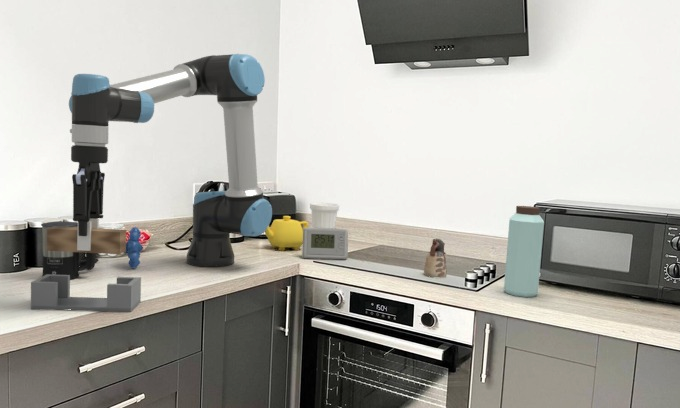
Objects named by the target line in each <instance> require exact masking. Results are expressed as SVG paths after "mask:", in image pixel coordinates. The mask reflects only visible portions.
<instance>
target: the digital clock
mask: <svg viewBox="0 0 680 408" xmlns="http://www.w3.org/2000/svg"><path fill="white" fill-rule="evenodd" d="M302 229H303V228H302ZM348 251H349V231H348V229H346V228H336V227H335V228H312V227H308V228H304V229H303V244H302V254H301V255H302V258H303V259H307V260H308V259H310V260H311V259H312V260H321V261H322V260H325V261H326V260H327V261H339V260H343V261H344V260H347V259H348V258H349V257H348V255H349V254H348V253H349V252H348Z"/></svg>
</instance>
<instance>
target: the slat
mask: <svg viewBox="0 0 680 408" xmlns="http://www.w3.org/2000/svg"><path fill="white" fill-rule="evenodd" d="M77 228H78V227H63V226H54V227H50V228H47V251H64V252H79V253H85V254H86V253H96V254H105V255H106V254H107V255H108V254H109V255H121V254H124V253H123V252H125V251H126V243H127V229H119V228H118V229H117V228H102V227H101V228H100V227H99V228H91V250H90V251H83V250H77Z"/></svg>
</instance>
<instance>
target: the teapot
mask: <svg viewBox="0 0 680 408" xmlns="http://www.w3.org/2000/svg"><path fill="white" fill-rule="evenodd" d="M302 225H303V226H302ZM304 228H309V222H308V221H305V220H302V221H300V220H296V219H291V216H289V215H282V218H281V219H274V220H273V222H272V223H271V225H269V226H268V227H267V229H266V230H265V232H264V233H265V236H266V238H267V240H268V242H269V244H270V245H272V246H271V248H273V249H278V251H280V252H284V251H286V248H292V250H294V251H299V250H300V248H299V247H303V229H304Z"/></svg>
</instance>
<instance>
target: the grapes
mask: <svg viewBox="0 0 680 408" xmlns="http://www.w3.org/2000/svg"><path fill="white" fill-rule="evenodd" d="M128 233H129V234H128V239H126V251H125V252H123V253H122V254H126V253H127V254H126V256H127V257H128V262H127V263H128V265H129V266H130V267H131V268H132V269H137V267H138V266H140V264H141V261H140V258H141V251H142V250H143V248H144V246H143V245H142V244H141V242H140V238H141V236H142V235H141V233H142V232H141V230H140V229H139V228H138V227H137V226H133V227H132V228H131V229H130V230H129V232H128Z"/></svg>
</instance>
